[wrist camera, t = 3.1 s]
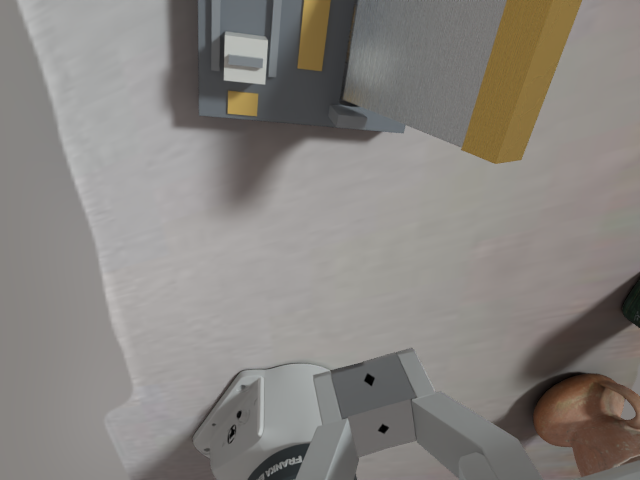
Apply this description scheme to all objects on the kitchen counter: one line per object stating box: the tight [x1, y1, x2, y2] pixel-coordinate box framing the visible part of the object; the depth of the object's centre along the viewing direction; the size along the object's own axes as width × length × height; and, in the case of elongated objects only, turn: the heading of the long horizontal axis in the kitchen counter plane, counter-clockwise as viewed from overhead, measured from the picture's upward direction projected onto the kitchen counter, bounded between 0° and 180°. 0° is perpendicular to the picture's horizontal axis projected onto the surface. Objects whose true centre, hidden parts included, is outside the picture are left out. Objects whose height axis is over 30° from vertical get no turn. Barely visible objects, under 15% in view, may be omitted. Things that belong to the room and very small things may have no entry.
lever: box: [339, 0, 582, 164], centre depth 27 cm, size 3×10×16 cm, turn 172°
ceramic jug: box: [533, 373, 640, 477], centre depth 64 cm, size 18×14×14 cm
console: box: [198, 0, 405, 133], centre depth 33 cm, size 18×15×6 cm
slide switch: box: [224, 31, 268, 85], centre depth 31 cm, size 3×3×4 cm
